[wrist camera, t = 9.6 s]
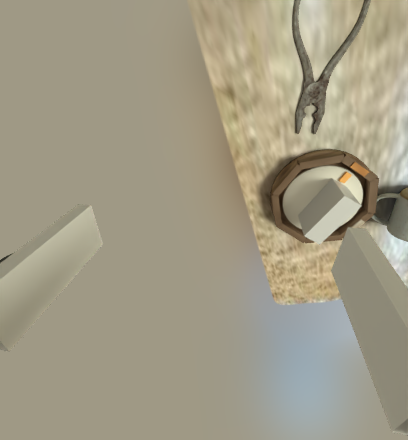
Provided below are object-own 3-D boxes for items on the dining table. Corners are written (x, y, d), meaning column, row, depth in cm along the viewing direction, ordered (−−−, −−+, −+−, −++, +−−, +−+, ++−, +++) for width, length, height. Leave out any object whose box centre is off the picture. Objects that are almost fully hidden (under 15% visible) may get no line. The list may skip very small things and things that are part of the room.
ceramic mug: (441, 181, 40) (474, 202, 34) (425, 221, 45) (453, 246, 38) (370, 185, 43) (389, 205, 37) (362, 222, 47) (378, 246, 41)
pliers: (377, -48, 28) (360, 126, 38) (374, -45, 29) (358, 125, 39) (292, -18, 31) (296, 137, 40) (291, -16, 32) (295, 136, 41)
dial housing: (264, 160, 44) (265, 167, 41) (375, 138, 39) (386, 144, 36) (275, 237, 53) (277, 248, 50) (368, 228, 47) (375, 239, 44)
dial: (323, 239, 49) (334, 266, 42) (268, 208, 48) (270, 231, 41) (379, 188, 41) (402, 210, 35) (315, 150, 40) (327, 166, 33)
